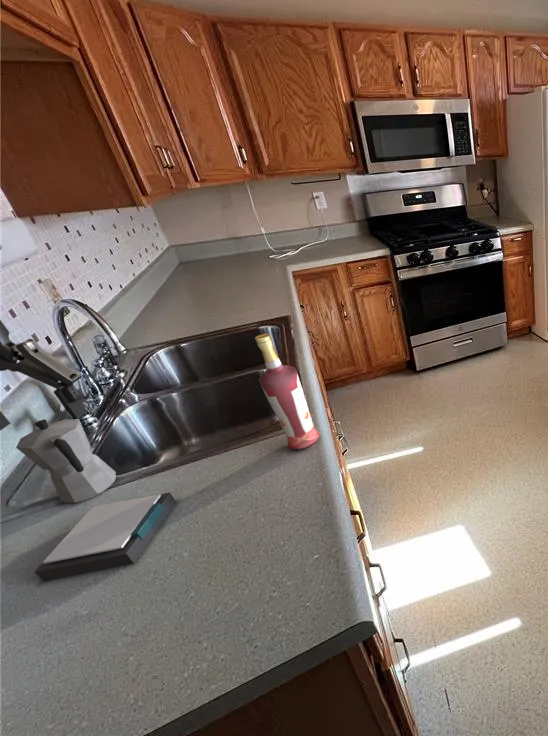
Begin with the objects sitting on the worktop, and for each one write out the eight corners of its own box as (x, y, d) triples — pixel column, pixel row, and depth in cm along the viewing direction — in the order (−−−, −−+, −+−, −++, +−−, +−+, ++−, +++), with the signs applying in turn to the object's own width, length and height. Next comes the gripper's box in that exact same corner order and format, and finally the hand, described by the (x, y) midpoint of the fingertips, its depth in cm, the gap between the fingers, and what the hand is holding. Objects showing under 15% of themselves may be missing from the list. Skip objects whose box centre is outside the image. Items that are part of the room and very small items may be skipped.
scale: (43, 581, 70) (30, 569, 68) (99, 515, 82) (90, 503, 80) (135, 563, 72) (125, 550, 70) (177, 501, 84) (169, 489, 82)
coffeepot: (51, 491, 89) (-4, 425, 81) (105, 464, 96) (60, 400, 88) (76, 518, 82) (18, 449, 73) (133, 486, 89) (86, 419, 80)
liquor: (323, 445, 96) (282, 337, 83) (289, 458, 93) (241, 348, 80) (319, 429, 102) (281, 325, 88) (287, 440, 99) (242, 335, 86)
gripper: (62, 303, 75) (124, 399, 85) (-97, 324, 72) (-14, 421, 82) (28, 319, 69) (99, 421, 79) (-149, 343, 66) (-51, 446, 76)
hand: (42, 421), depth 81 cm, fingers open, 13 cm apart
